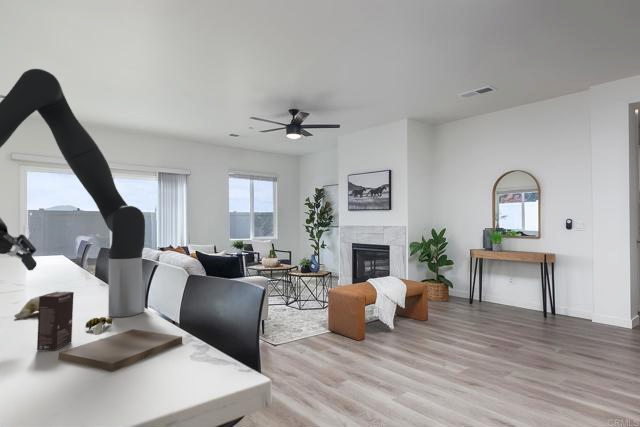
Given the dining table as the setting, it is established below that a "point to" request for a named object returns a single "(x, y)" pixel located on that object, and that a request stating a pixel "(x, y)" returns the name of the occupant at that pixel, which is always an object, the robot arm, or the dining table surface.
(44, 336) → the box
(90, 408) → the dining table surface
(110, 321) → the insect
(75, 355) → the board
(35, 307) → the yellow plush toy
